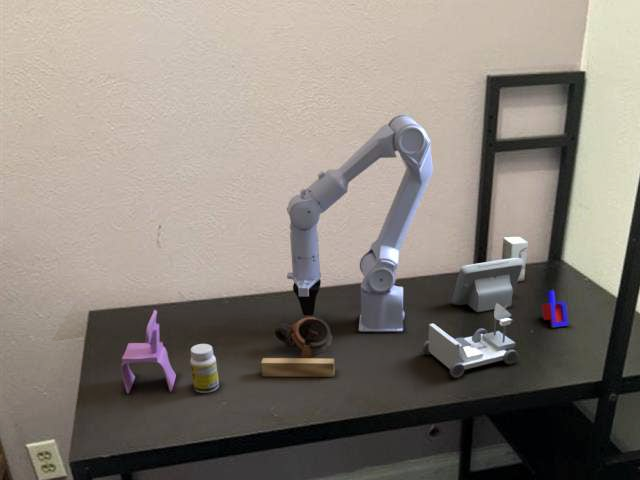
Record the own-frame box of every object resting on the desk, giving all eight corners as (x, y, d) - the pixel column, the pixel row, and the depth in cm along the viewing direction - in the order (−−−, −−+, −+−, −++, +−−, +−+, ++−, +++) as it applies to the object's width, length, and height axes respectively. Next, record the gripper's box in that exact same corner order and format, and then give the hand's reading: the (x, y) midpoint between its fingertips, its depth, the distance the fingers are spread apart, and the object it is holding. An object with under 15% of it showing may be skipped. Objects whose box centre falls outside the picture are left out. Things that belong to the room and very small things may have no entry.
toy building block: (559, 326, 174) (555, 290, 173) (568, 325, 170) (564, 288, 169) (544, 328, 173) (540, 292, 173) (553, 327, 169) (549, 290, 169)
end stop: (334, 371, 153) (334, 358, 152) (334, 376, 152) (333, 363, 150) (263, 371, 154) (262, 358, 152) (262, 376, 152) (261, 362, 151)
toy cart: (499, 294, 161) (532, 315, 152) (495, 337, 166) (528, 360, 157) (423, 310, 154) (453, 334, 145) (421, 354, 159) (451, 379, 150)
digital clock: (513, 293, 186) (517, 251, 181) (526, 309, 178) (530, 265, 173) (447, 298, 184) (449, 255, 178) (457, 314, 176) (459, 270, 171)
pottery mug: (329, 339, 167) (337, 317, 160) (323, 376, 161) (331, 354, 155) (273, 327, 165) (279, 304, 158) (266, 364, 160) (271, 341, 153)
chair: (131, 374, 153) (118, 304, 145) (177, 372, 153) (166, 302, 146) (123, 396, 146) (109, 323, 138) (170, 394, 146) (159, 322, 139)
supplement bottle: (195, 381, 150) (190, 343, 146) (220, 380, 151) (215, 341, 146) (192, 394, 146) (187, 354, 142) (218, 393, 147) (213, 353, 142)
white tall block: (524, 281, 192) (528, 242, 187) (508, 283, 191) (511, 244, 186) (515, 273, 197) (519, 235, 192) (499, 275, 196) (502, 237, 191)
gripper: (289, 242, 167) (293, 300, 174) (281, 267, 155) (286, 328, 162) (322, 242, 167) (325, 300, 174) (317, 267, 155) (320, 328, 161)
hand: (308, 314), depth 168 cm, fingers closed
